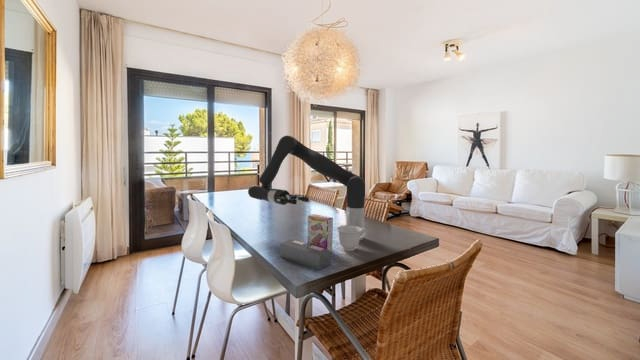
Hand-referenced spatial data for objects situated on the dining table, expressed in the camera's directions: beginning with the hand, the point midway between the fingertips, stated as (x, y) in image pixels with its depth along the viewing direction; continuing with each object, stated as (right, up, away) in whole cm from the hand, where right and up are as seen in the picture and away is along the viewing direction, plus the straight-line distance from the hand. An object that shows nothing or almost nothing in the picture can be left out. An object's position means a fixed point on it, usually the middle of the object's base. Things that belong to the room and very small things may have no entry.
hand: (302, 200), depth 134 cm
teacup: (+24, -23, -1) cm, 33 cm away
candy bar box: (+8, -23, -4) cm, 25 cm away
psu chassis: (+2, -24, -16) cm, 29 cm away
